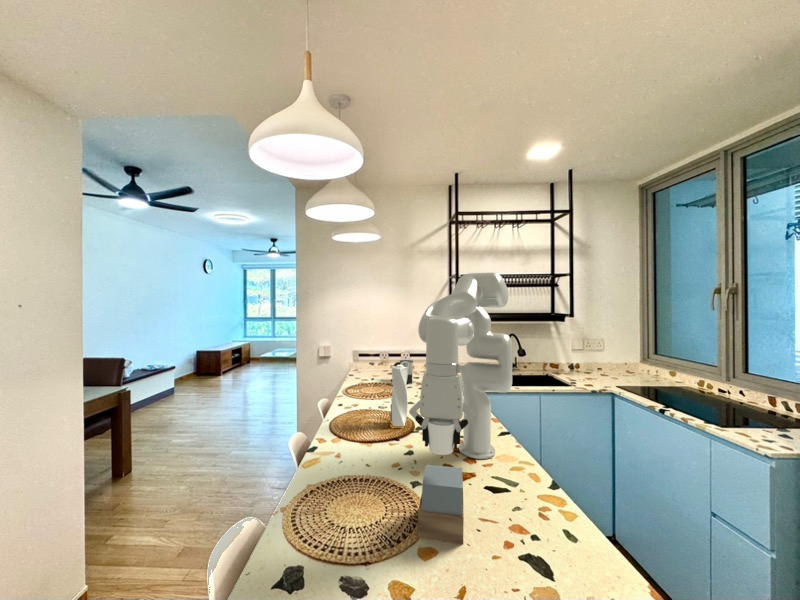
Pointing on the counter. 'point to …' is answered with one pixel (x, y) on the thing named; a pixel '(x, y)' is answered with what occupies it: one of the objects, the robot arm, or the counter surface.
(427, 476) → the slate top block
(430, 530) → the walnut base block
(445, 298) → the robot arm
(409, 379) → the milk frother
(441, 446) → the shot glass
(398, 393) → the skyscraper
